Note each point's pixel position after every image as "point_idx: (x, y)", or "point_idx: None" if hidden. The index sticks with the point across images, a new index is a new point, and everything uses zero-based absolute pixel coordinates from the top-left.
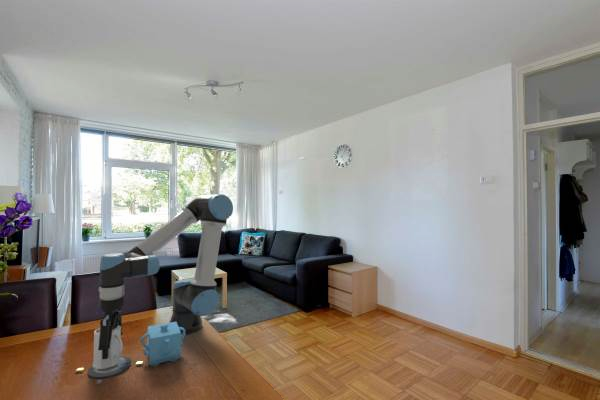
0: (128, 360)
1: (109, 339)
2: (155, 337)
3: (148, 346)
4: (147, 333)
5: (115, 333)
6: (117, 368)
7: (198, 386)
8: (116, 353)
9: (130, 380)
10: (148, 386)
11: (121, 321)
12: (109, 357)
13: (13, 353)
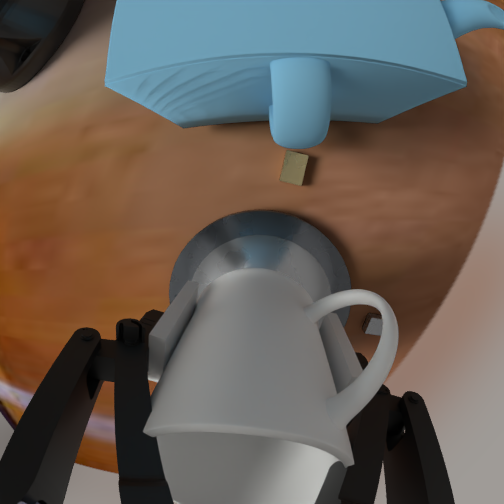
0: (247, 225)
1: (384, 430)
2: (451, 41)
3: (262, 105)
4: (302, 72)
5: (338, 431)
6: (316, 273)
7: (495, 41)
8: (304, 313)
9: (416, 211)
10: (474, 154)
11: (46, 385)
12: (349, 344)
13: (92, 463)
